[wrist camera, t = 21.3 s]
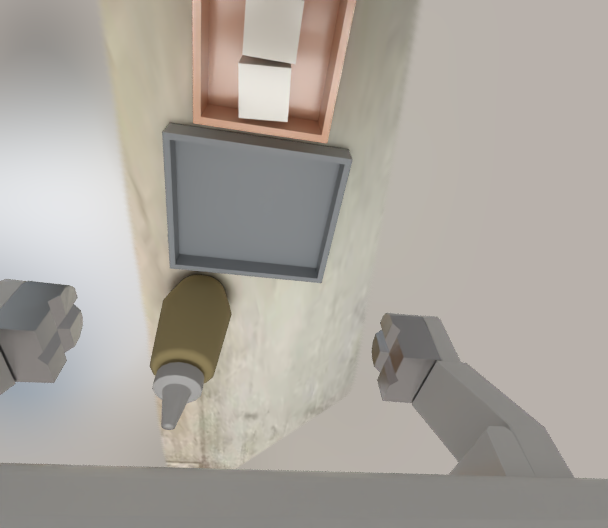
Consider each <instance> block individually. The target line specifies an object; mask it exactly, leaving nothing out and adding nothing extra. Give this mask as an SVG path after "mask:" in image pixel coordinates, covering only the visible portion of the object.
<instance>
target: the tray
mask: <svg viewBox="0 0 608 528" xmlns="http://www.w3.org/2000/svg"><path fill="white" fill-rule="evenodd" d="M162 135H163V153H164V171H165V189H166V207H167V225H168V242H169V260H170V268H173V269H183V270H193V271H203V272H214V273H224V274H234V275H244V276H255V277H265V278H275V279H285V280H295V281H306V282H316V283H322V279H323V275H324V271H325V267H326V263H327V259H328V255H329V251H330V247H331V243H332V239H333V235H334V231H335V227H336V223H337V219H338V215H339V211H340V207H341V203H342V199H343V195H344V191H345V187H346V183H347V179H348V175H349V171H350V167H351V163H352V157H351V154H350V152H349V149H342V148H335V147H329V146H322V145H315V144H308V143H302V142H295V141H288V140H282V139H275V138H268V137H261V136H255V135H248V134H241V133H234V132H228V131H221V130H214V129H208V128H201V127H194V126H187V125H181V124H174V123H169V124H168V125H167V126H166V128H165V129H164V130H163V132H162Z"/></svg>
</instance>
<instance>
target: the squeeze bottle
mask: <svg viewBox="0 0 608 528" xmlns="http://www.w3.org/2000/svg"><path fill="white" fill-rule="evenodd" d="M230 318H231V310H230V306H229V302H228V299H227V296H226V293H225V290H224V287H223V286H222V285H221V284H220V282H219V281H217V280H215V279H214V278H212V277H210V276H205V275H191V276H189V277H187V278H185V279H183V280H182V281H181V282H180V283H179V284H178V285H177V286H176V287H175V288H174V289H173V290H172V291H171V292H170V293H169V294H168V295H167V297H166V298H165V299H164V300H163V304H162V309H161V313H160V318H159V323H158V328H157V332H156V337H155V342H154V347H153V351H152V356H151V362H150V368H151V370H152V372H153V374H154V375H155V379H154V383H153V388H152V389H153V391H154V393H155V395H157V396H158V397H159V398H160V399H162V423H161V426H162V428H163V429H166V430H172V429H174V428H175V426H176V424H177V422H178V420H179V418H180V416H181V414H182V412H183V410H184V408H185V405H186V403H189V402H192V401H195V400H196V399H197V398H199V397H200V396H201V393H202V389H203V384H204V383H206V382H207V381H209V380H210V379H211V378H212V377H213V375H214V372H215V369H216V366H217V362H218V359H219V355H220V352H221V348H222V345H223V342H224V338H225V335H226V331H227V328H228V324H229V321H230Z"/></svg>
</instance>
